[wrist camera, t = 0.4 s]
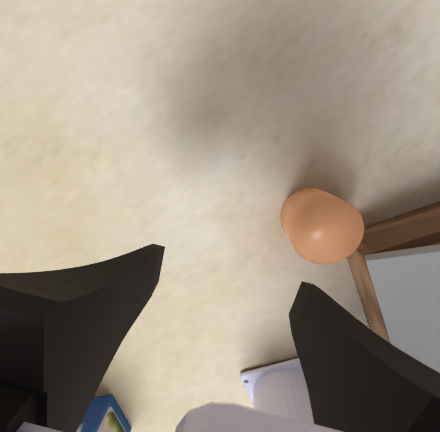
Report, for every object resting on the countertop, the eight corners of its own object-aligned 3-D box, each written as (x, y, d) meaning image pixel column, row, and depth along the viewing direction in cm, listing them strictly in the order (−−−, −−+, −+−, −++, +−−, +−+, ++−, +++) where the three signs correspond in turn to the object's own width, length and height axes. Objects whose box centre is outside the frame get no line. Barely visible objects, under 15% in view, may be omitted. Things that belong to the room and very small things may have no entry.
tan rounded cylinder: (343, 229, 21) (371, 250, 16) (290, 248, 22) (304, 272, 17) (327, 178, 20) (353, 187, 15) (272, 200, 20) (281, 214, 16)
